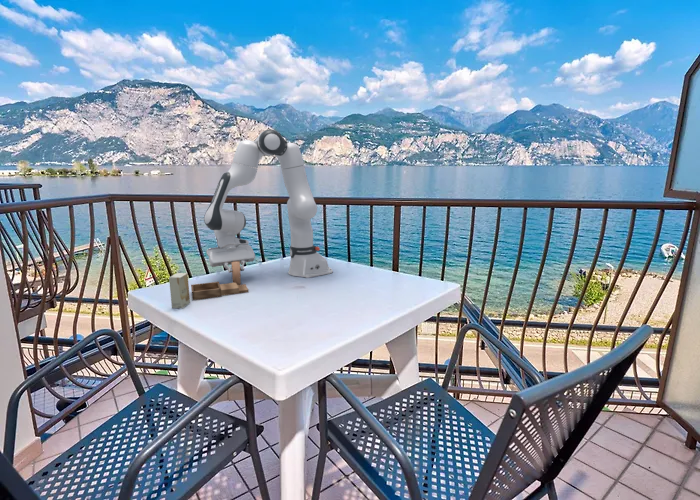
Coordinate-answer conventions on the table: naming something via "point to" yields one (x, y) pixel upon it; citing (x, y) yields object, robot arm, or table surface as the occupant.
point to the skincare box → (179, 290)
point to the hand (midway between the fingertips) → (236, 271)
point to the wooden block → (236, 272)
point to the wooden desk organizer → (216, 290)
